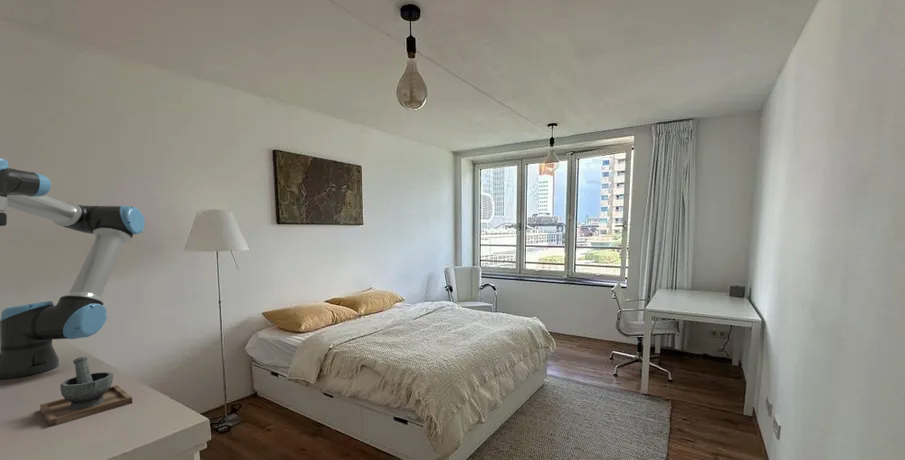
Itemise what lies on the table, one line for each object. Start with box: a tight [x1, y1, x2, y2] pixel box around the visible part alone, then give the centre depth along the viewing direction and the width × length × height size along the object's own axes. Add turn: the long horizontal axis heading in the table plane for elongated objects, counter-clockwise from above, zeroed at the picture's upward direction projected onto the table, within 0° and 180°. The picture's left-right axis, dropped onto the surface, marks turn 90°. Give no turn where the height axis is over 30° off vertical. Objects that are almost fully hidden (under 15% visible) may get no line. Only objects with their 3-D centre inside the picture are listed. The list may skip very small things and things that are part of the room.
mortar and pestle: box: [59, 356, 114, 410], centre depth 96 cm, size 11×9×12 cm
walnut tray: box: [39, 385, 133, 427], centre depth 96 cm, size 15×15×2 cm
